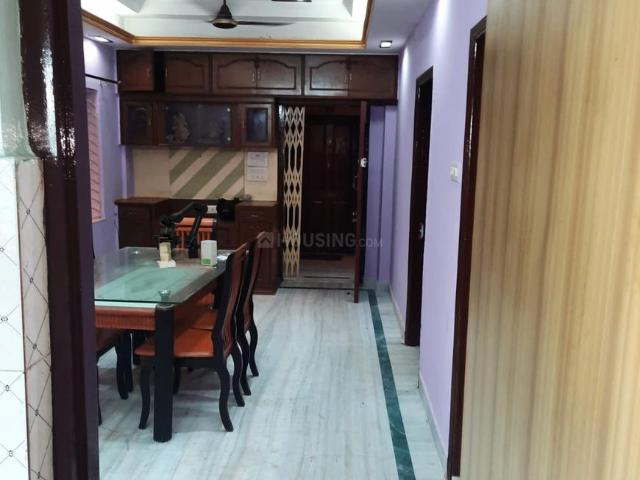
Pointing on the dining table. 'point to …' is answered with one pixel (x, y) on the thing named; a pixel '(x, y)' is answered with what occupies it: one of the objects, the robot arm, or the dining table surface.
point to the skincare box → (209, 252)
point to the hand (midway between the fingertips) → (164, 250)
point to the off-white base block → (166, 264)
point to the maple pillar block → (165, 252)
